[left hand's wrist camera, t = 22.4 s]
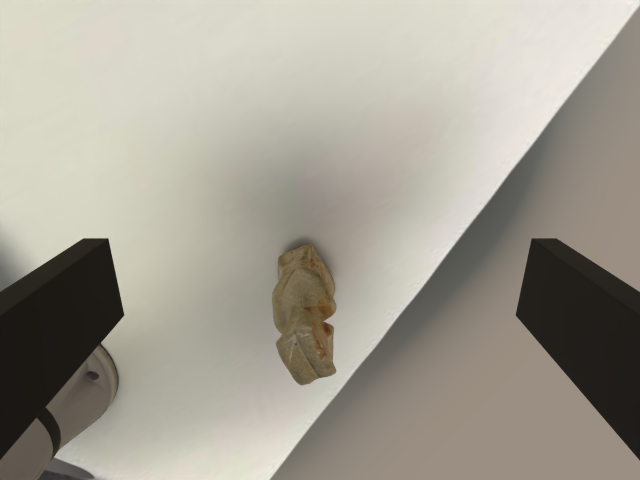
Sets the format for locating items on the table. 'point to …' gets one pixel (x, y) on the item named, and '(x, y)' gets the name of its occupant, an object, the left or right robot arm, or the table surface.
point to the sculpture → (304, 314)
